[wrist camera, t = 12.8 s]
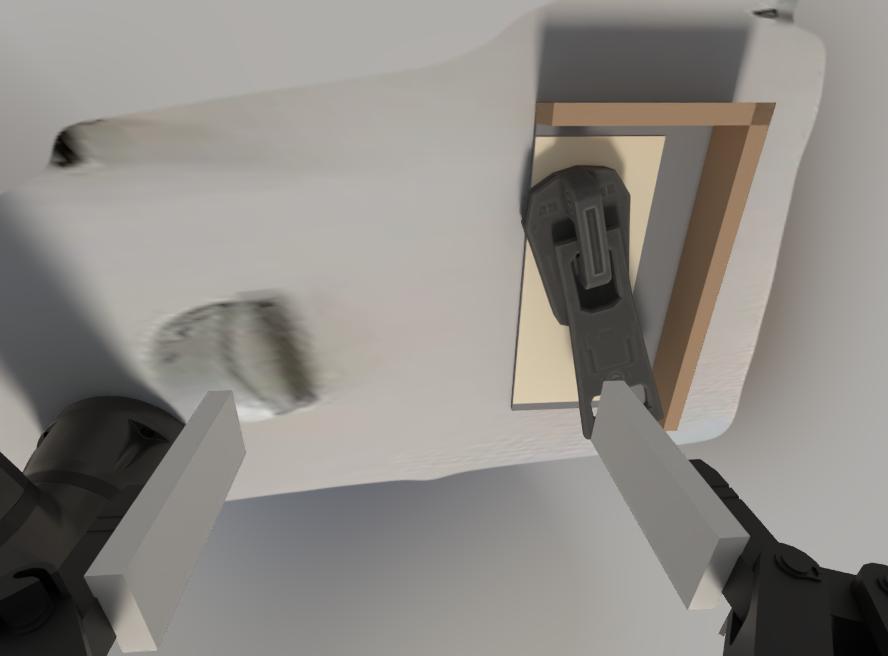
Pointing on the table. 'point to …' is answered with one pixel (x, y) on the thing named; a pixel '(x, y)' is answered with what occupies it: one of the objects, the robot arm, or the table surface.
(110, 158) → the table surface
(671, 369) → the tray
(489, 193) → the table surface
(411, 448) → the table surface
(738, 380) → the table surface
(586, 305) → the zipper pull
